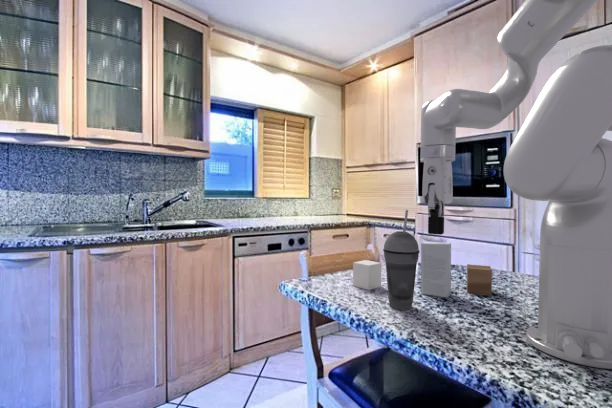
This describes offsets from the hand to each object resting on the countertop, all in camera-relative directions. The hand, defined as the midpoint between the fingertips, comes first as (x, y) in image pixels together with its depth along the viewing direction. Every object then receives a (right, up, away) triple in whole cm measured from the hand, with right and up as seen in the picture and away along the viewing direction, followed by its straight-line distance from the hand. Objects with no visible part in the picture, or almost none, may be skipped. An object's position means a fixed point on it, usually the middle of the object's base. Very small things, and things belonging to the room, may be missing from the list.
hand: (435, 233), depth 77 cm
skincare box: (0, -14, 0) cm, 14 cm away
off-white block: (-15, -14, +7) cm, 21 cm away
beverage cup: (-11, -14, -9) cm, 20 cm away
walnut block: (+11, -14, +2) cm, 18 cm away
